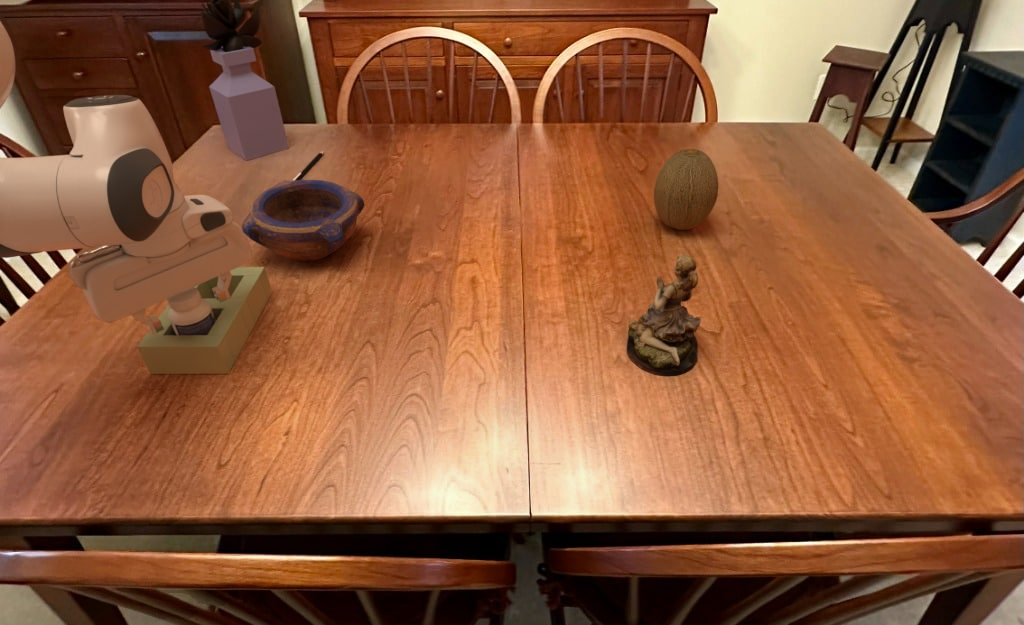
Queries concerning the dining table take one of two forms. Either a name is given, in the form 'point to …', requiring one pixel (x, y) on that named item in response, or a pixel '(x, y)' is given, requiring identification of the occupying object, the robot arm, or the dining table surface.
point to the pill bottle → (190, 313)
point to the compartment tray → (224, 337)
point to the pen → (308, 166)
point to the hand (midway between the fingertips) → (191, 314)
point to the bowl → (303, 218)
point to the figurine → (667, 326)
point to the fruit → (686, 189)
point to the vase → (242, 83)
